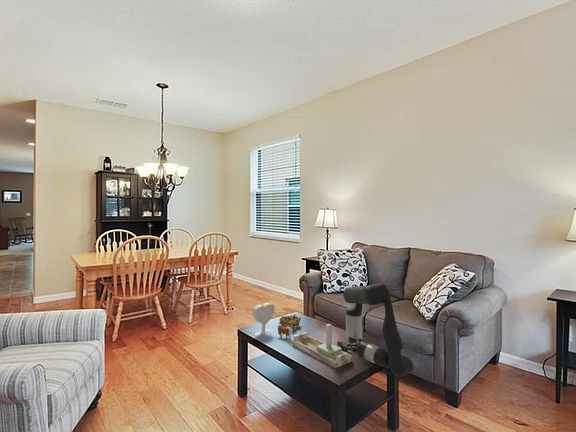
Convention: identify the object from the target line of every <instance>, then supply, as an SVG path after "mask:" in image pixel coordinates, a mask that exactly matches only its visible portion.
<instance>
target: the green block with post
mask: <svg viewBox="0 0 576 432" xmlns="http://www.w3.org/2000/svg"><path fill="white" fill-rule="evenodd" d="M325 325H326V326H325V327H326V331H325V333H326V334H325V335H326V336H325V342H324V344H321V345H319V346H317V351H318V352H320V353H322V354H324V355H326V356H328V357H330V358H332V359H334V360H336V356H339V355H341V351H342V350H341V347H340V346H338V345H335V344H333V325H332V324H330V323H328V324H325Z"/></svg>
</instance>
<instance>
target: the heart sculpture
mask: <svg viewBox="0 0 576 432" xmlns="http://www.w3.org/2000/svg"><path fill="white" fill-rule="evenodd" d="M251 313H252V317H253V319H254V320H255V321H256V322H258V323H260V324H261V330H259V331H257V332H254V333H255V334H254V333H253V335H255V336H258V335H259V336H261V335H260V334H262V335H265V334H268V333H272V332H273V329H271V330H270V328H266V325H267V324H268V322H270V321H271V319H272V318H273V316H274V314H275V305H274V304H272V303H269V302H266V303H265V302H264V303H263V304H257V305H255V306H254V307H253V308H252V311H251ZM271 331H272V332H271ZM267 332H268V333H267ZM264 333H265V334H264ZM257 334H258V335H257Z"/></svg>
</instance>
